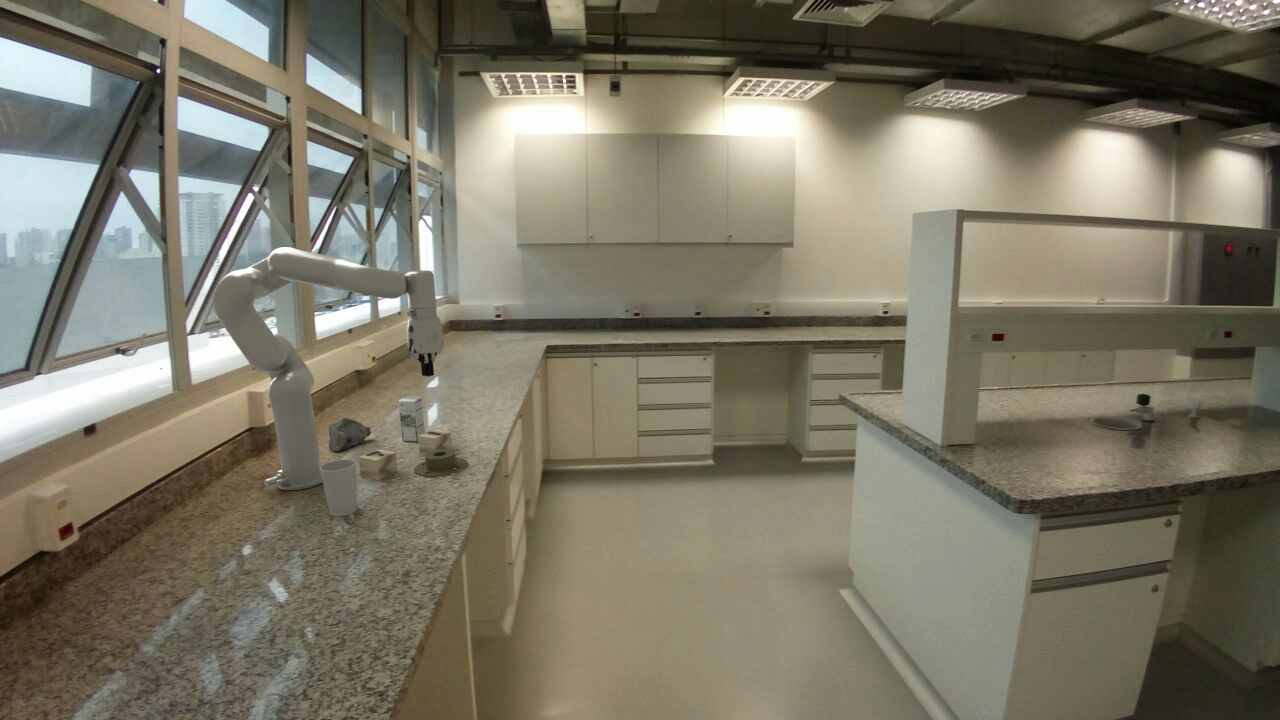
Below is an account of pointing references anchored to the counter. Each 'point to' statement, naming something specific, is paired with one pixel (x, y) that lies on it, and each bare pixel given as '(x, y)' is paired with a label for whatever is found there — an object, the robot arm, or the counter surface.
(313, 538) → the counter surface
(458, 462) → the flange
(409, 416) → the syrup box
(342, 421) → the mineral rock
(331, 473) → the cup
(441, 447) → the numeral block one
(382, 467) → the numeral block seven
